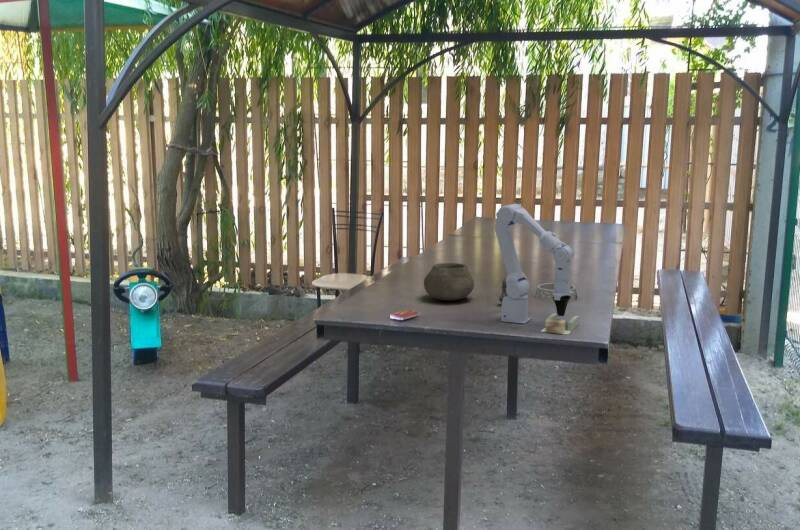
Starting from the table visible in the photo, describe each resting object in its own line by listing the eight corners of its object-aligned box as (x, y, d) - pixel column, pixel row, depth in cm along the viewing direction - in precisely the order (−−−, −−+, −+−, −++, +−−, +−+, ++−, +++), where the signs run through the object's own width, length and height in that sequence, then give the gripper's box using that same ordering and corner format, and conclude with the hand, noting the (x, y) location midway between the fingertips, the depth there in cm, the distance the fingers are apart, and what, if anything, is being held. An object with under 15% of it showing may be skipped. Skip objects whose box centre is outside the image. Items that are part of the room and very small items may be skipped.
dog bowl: (533, 302, 325) (533, 289, 324) (538, 292, 343) (538, 281, 342) (574, 304, 320) (575, 291, 319) (578, 295, 338) (578, 283, 337)
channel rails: (544, 327, 283) (545, 319, 282) (552, 321, 293) (552, 313, 292) (571, 330, 279) (571, 322, 278) (578, 323, 288) (578, 315, 288)
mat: (540, 331, 278) (540, 331, 278) (544, 328, 282) (544, 327, 282) (568, 334, 274) (568, 334, 274) (571, 331, 278) (571, 330, 278)
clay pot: (415, 297, 334) (415, 262, 331) (458, 292, 343) (458, 259, 340) (438, 307, 315) (438, 271, 312) (483, 302, 323) (484, 267, 321)
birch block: (545, 332, 276) (545, 321, 276) (548, 329, 280) (549, 318, 280) (562, 333, 274) (562, 322, 273) (565, 330, 278) (565, 320, 277)
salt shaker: (510, 307, 314) (511, 278, 312) (496, 306, 316) (497, 277, 314) (514, 304, 320) (514, 275, 317) (500, 303, 322) (500, 274, 320)
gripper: (568, 283, 273) (567, 321, 275) (578, 276, 286) (576, 312, 288) (548, 282, 276) (547, 319, 278) (559, 274, 289) (557, 310, 291)
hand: (560, 315), depth 284 cm, fingers closed
